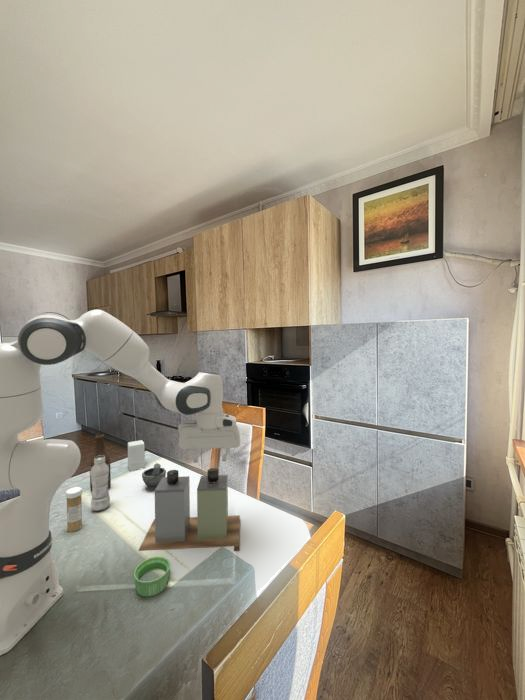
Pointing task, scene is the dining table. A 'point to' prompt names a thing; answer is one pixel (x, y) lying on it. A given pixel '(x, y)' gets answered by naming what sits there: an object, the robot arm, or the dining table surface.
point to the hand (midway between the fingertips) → (210, 461)
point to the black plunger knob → (213, 475)
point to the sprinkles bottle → (74, 509)
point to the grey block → (172, 510)
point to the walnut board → (194, 537)
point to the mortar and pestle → (153, 476)
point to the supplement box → (136, 455)
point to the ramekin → (155, 585)
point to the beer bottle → (99, 451)
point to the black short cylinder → (172, 477)
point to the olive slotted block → (212, 508)
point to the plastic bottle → (99, 484)
